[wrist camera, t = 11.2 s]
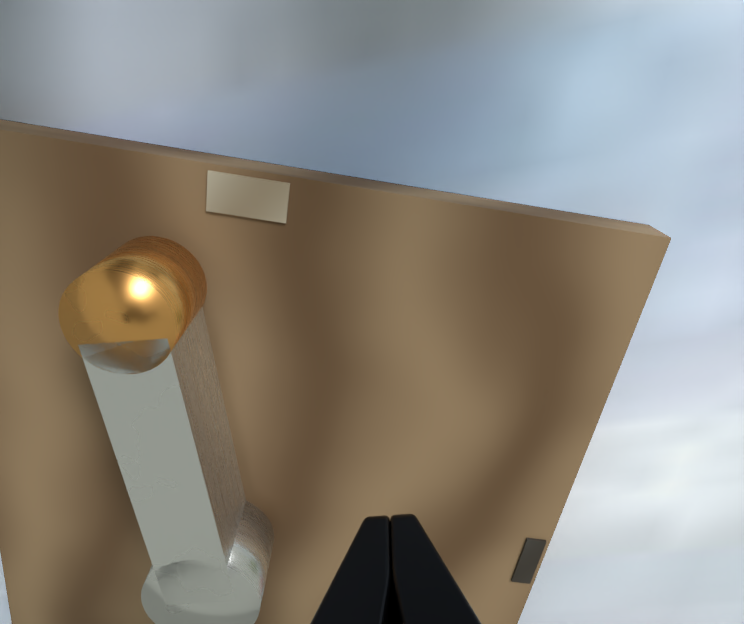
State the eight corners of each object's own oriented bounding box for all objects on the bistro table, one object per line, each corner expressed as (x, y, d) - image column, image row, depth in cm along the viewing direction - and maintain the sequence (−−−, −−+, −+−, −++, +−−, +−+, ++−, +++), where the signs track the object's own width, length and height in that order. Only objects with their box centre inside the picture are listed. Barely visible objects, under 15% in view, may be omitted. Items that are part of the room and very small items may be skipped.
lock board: (32, 603, 26) (12, 635, 24) (-34, 114, 17) (-73, 118, 15) (487, 651, 27) (494, 685, 26) (648, 225, 18) (673, 239, 17)
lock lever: (281, 567, 22) (268, 638, 19) (183, 573, 22) (156, 645, 19) (212, 231, 16) (180, 264, 14) (80, 241, 16) (22, 276, 14)
